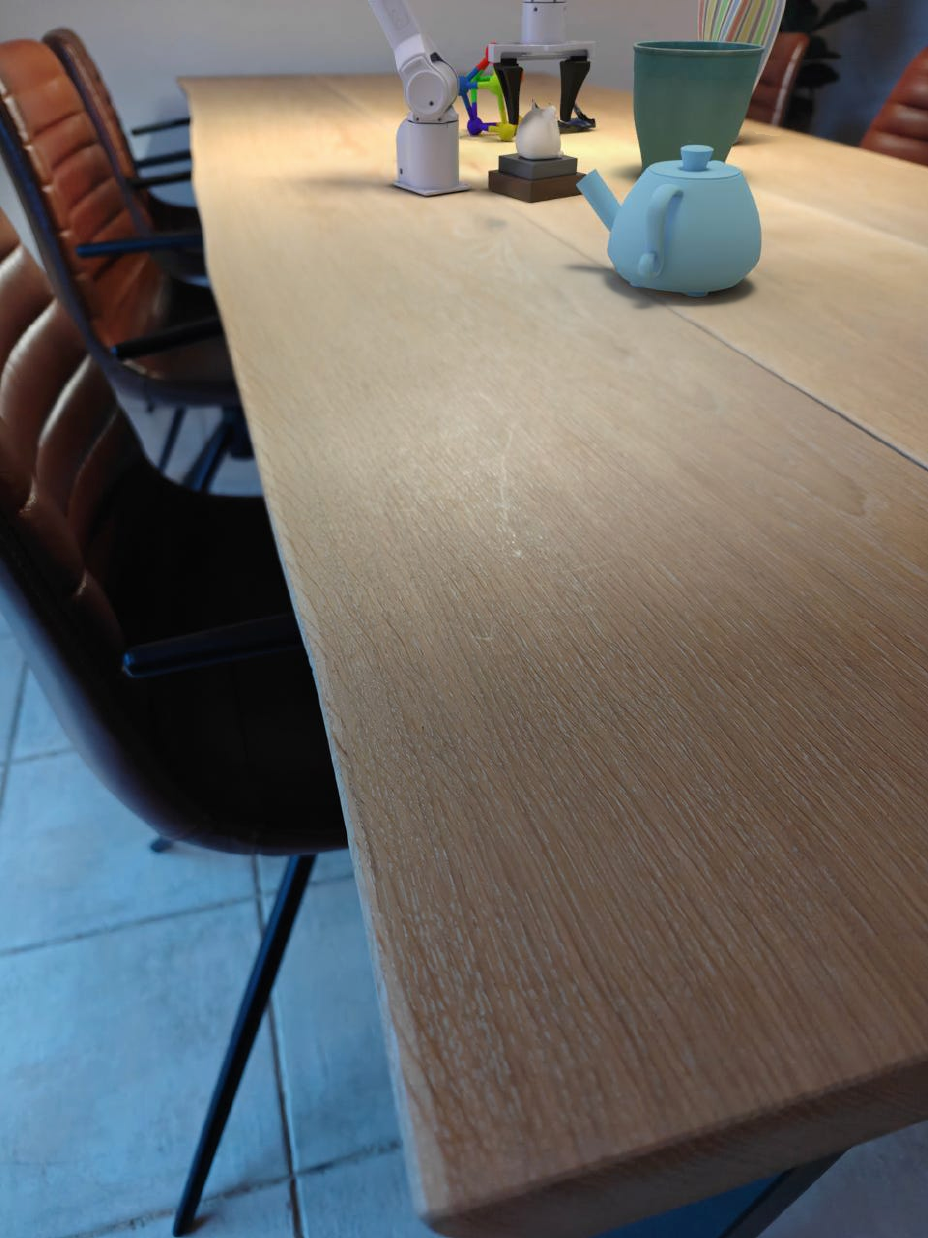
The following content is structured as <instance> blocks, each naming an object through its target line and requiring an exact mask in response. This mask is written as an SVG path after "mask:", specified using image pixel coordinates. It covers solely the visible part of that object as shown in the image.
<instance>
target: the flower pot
mask: <svg viewBox="0 0 928 1238" xmlns="http://www.w3.org/2000/svg"><path fill="white" fill-rule="evenodd" d="M632 47H633V48H632V49H633V51H634V52H633V53H634V55H633V56H634V57H633V95H632V96H633V100H632V101H633V104H632V107H633V118H634V119H633V121H634V127H635V131H636V137H637V143H638V147H639V153H640V161H641V166H640V174H641V175H642V174H643V173H644V171H645V170H646V169H647V168H648V167H649V166H650V165H652V164H655V163H659V162H664V161H675V160H682V156H681V148H682V147H684V146H687V145H704V146H709V147H711V148H713V149H714V150H713V153H712V156H711V158H710V160H709V161H715V160H716V161H722V162H724V163H725V164H726V161H727V158H728V157H729V154H730V152H731V150H732V148H733V145H735V143H734V142H735V140H736V138H737V136H738V133H739V134H740V132H741V130H742V127H743V125H744V122H745V119H746V117H747V114H748V110H749V107H750V103H751V99H752V96H753V94H752V92H753V88H754V83H755V79H756V75H757V73H758V69H759V65H760V61H761V56H762V53H763V52H764V49H765V47H764V46H761V45H756V44H748V43H738V42H723V41H698V40H677V39H676V40H673V39H672V40H650V41H649V40H648V41H639V42H634V43H633V46H632ZM753 93H754V92H753ZM739 131H740V132H739ZM738 137H739V136H738Z"/></svg>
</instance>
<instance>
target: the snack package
mask: <svg viewBox="0 0 928 1238" xmlns="http://www.w3.org/2000/svg"><path fill="white" fill-rule="evenodd" d="M533 100H534V99H532V100H531V103H532V102H533ZM548 104H549V105H550V106H552V105H551V102H548ZM536 108H540V107H539V106H538V104H537V102H535V109H536ZM573 112H574V114H575V115H576V116H575V117H571V120H570V122H564V121H561V120H560V119H559V120H558V121H557V122H558V127H559V128H560V129H575V128H576V129H577V132H579V133H580V132H582V131H587V130H590V129H595V128H596V127H597V122H596V118H594V117H592V118H591V117H588V116H587V114H585V113H583V112H582V110H581V108H580V107H579V105H578V104H577V102H576V101H575V104H574V108H573ZM556 117H557V116H555V118H556ZM563 133H564V132H563V131H561V134H563Z"/></svg>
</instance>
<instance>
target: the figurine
mask: <svg viewBox="0 0 928 1238" xmlns="http://www.w3.org/2000/svg"><path fill="white" fill-rule="evenodd" d="M535 103H536V99H533V102H532V101H531V110H529V111H527V112H526V113H525V114H524V116H522V120H521V122H520V124H519V126H518V129H517V132H516V134H515V138H514V139H515V140H514V142H515V143H514V144H515V149H516V153H518V154H519V155H520V156H521V157H524V158H527V159H531V160H542V159H553V158H561V157H563V155H565V154H564V151H563V150H562V149H561V148H562V141H561V134H562V133H561V132H560V131H561V130H560V127H558V122H557V121H558V120H559V121H560V117H558V115H557V109H556V106H553V105H550V106H548V107H546V108H541V107H539V108H536V109H535ZM556 115H557V116H556ZM555 117H556V118H555Z"/></svg>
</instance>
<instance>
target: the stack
mask: <svg viewBox="0 0 928 1238" xmlns="http://www.w3.org/2000/svg"><path fill="white" fill-rule="evenodd" d="M497 159H498V160H497V161H498V163H497V164H498V165H497V169H492V170H491V169H490V170H487V171H488V173H487V175H488V176H487V181H488V182H487V190H488V191H491V192H494V193H497V194H501V195H505V196H507V197H511V198H513V199H517V200H521V201H523V202H526V203H537V202H543V201H549V200H554V199H561V198H567V197H572V196H578V195H583V194H582V193H581V191H580V190H579V189H578V187H577V186H576V184H577V183H578V182H579V181H580V180H581V179H582V178H584V177H585V176H586V175H587V174H588V173H584V172H581V171H580V172H579V171H578V163H579V158H578V157H575V156H571V155H566V154H564V155H563V157H561V158H553V159H542V160H531V159H527V158H524V157H521V156H520V155H519V154H518V152H514V153H508V154H500V155H498V158H497Z"/></svg>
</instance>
